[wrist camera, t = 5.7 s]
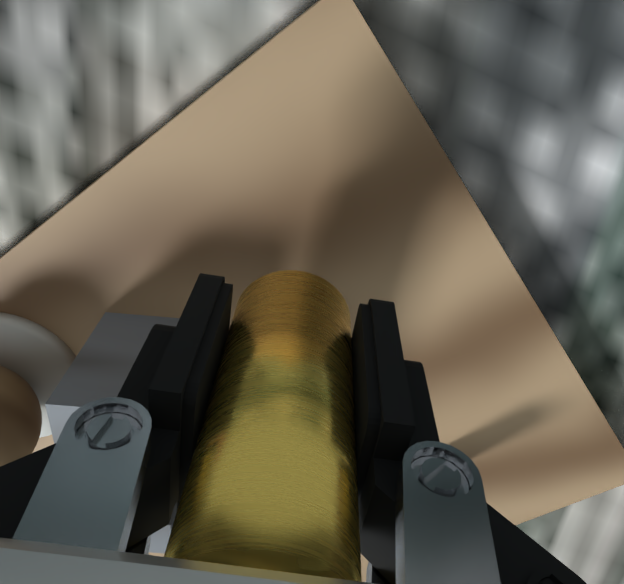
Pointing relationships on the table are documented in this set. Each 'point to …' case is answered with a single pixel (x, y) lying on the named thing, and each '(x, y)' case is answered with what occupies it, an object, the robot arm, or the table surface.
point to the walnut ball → (17, 417)
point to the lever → (278, 439)
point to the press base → (310, 259)
